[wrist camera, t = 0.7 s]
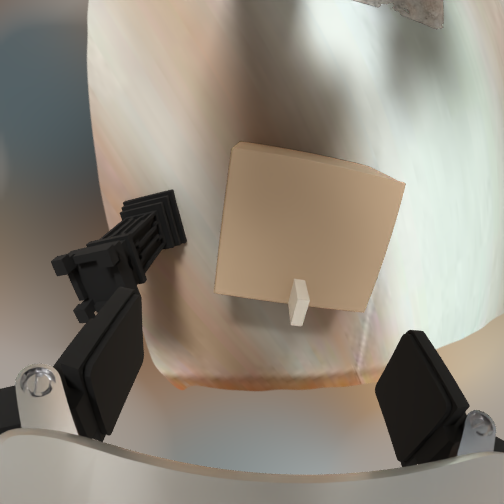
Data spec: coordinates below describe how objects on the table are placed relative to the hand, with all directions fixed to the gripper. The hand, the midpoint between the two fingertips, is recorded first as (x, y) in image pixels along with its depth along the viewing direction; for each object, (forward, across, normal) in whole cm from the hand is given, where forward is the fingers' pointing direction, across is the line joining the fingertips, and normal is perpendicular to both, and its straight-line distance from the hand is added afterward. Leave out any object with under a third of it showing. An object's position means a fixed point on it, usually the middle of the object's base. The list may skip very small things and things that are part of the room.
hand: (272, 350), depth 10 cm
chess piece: (+34, +15, +8) cm, 38 cm away
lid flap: (+22, -5, +3) cm, 22 cm away
